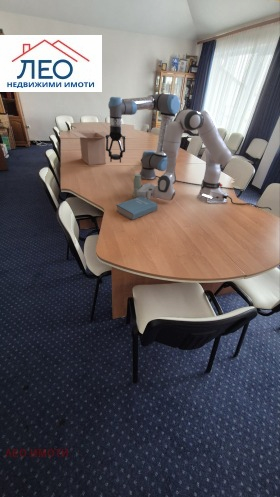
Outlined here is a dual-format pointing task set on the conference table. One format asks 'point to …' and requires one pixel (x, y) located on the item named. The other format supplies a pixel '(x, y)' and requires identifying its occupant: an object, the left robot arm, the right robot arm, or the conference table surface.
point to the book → (136, 207)
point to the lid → (115, 156)
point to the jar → (137, 183)
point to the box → (92, 146)
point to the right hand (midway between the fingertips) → (135, 187)
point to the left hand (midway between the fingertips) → (115, 161)
